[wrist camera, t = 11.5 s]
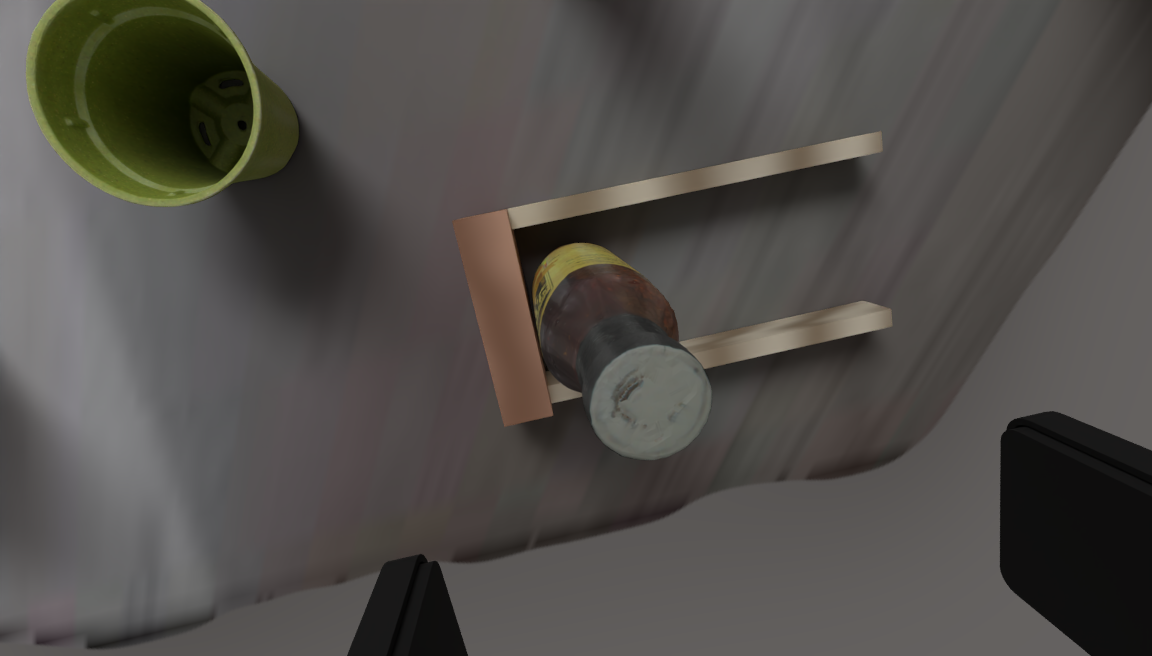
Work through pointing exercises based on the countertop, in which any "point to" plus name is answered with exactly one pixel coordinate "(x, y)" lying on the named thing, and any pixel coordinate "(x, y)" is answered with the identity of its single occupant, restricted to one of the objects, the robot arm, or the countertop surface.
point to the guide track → (493, 239)
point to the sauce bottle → (619, 352)
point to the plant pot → (154, 100)
